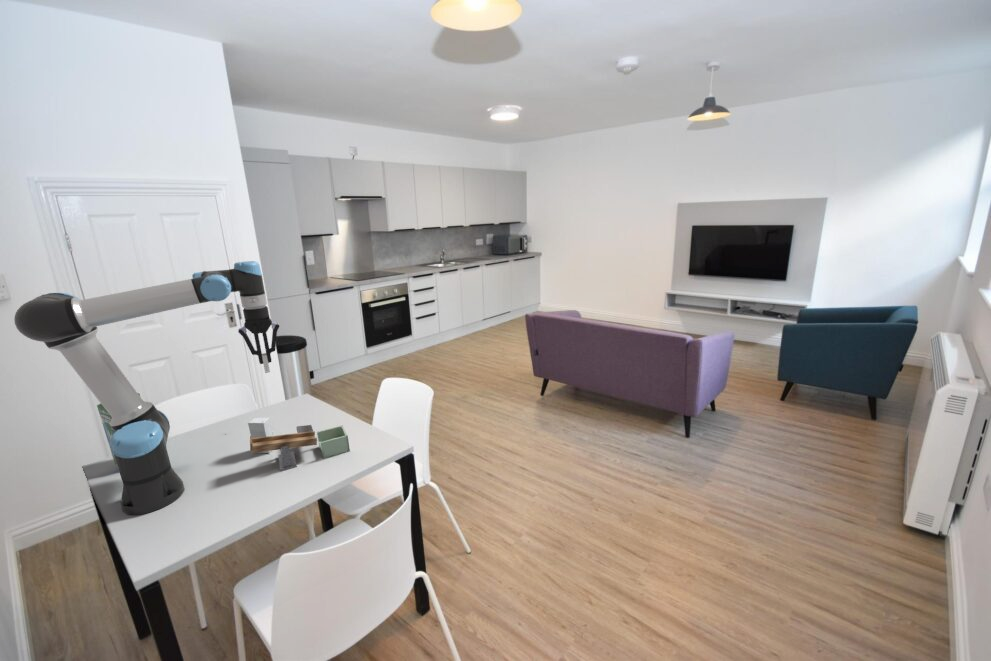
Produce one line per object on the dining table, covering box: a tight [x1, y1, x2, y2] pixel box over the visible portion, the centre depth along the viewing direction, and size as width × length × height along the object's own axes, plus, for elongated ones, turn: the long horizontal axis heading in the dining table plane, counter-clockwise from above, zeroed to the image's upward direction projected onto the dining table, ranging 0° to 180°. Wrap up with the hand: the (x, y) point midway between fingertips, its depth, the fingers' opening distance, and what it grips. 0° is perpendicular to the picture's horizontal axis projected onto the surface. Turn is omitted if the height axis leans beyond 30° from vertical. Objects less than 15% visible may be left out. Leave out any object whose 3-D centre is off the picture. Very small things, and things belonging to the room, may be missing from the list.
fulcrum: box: [277, 434, 297, 472], centre depth 148 cm, size 5×10×8 cm, turn 29°
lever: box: [249, 424, 318, 454], centre depth 151 cm, size 20×15×3 cm
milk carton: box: [96, 392, 141, 466], centre depth 150 cm, size 9×9×25 cm
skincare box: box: [247, 417, 275, 454], centre depth 156 cm, size 6×4×12 cm
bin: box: [316, 424, 351, 459], centre depth 155 cm, size 9×9×6 cm
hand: (267, 371), depth 155 cm, fingers closed
